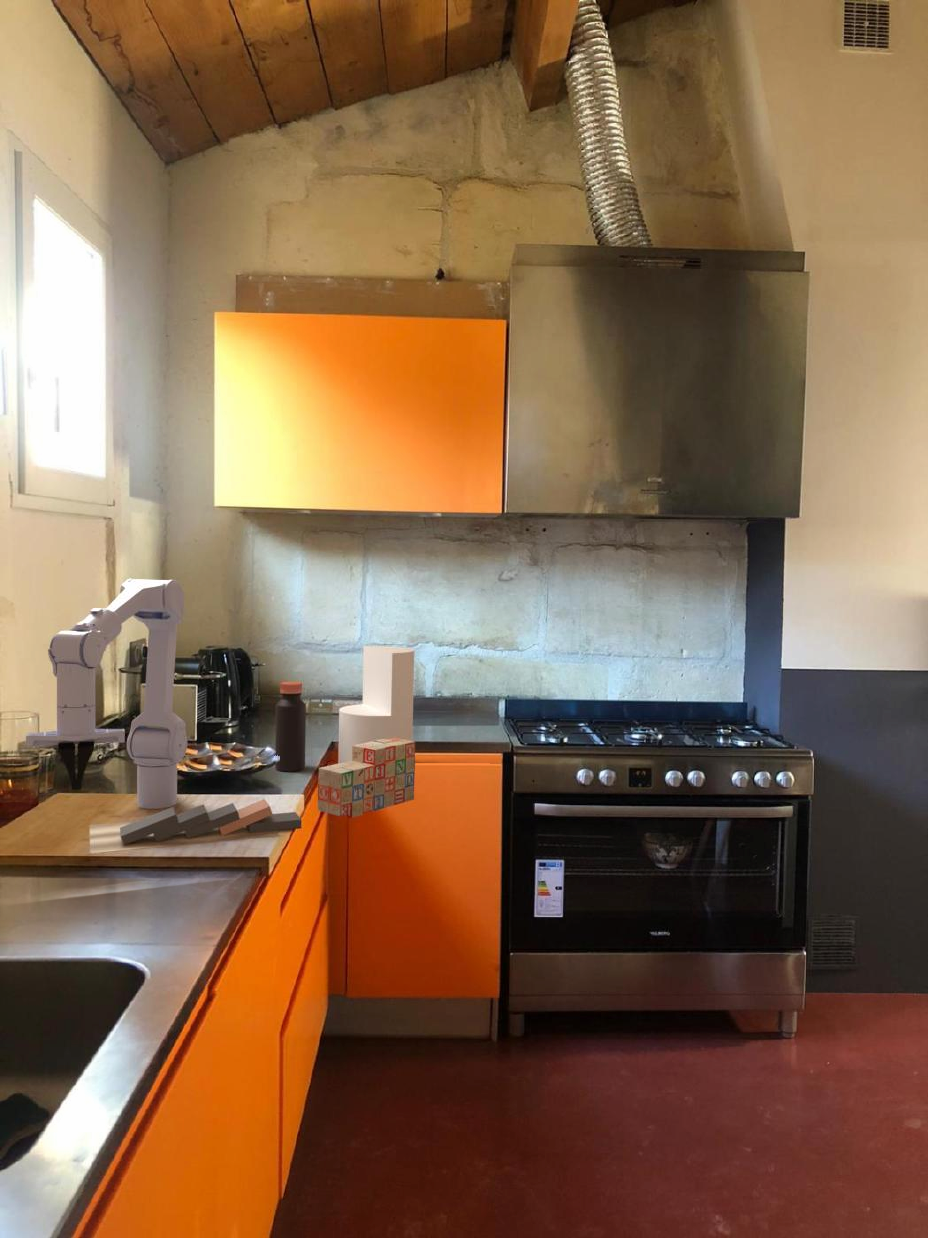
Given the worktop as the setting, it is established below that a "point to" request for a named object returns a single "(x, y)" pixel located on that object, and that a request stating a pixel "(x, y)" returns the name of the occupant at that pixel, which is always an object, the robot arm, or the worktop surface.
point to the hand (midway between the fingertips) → (76, 788)
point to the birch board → (110, 839)
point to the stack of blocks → (369, 778)
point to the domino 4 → (248, 816)
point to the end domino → (276, 823)
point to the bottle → (290, 728)
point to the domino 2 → (184, 822)
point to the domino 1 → (148, 826)
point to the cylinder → (380, 700)
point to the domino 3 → (215, 820)
